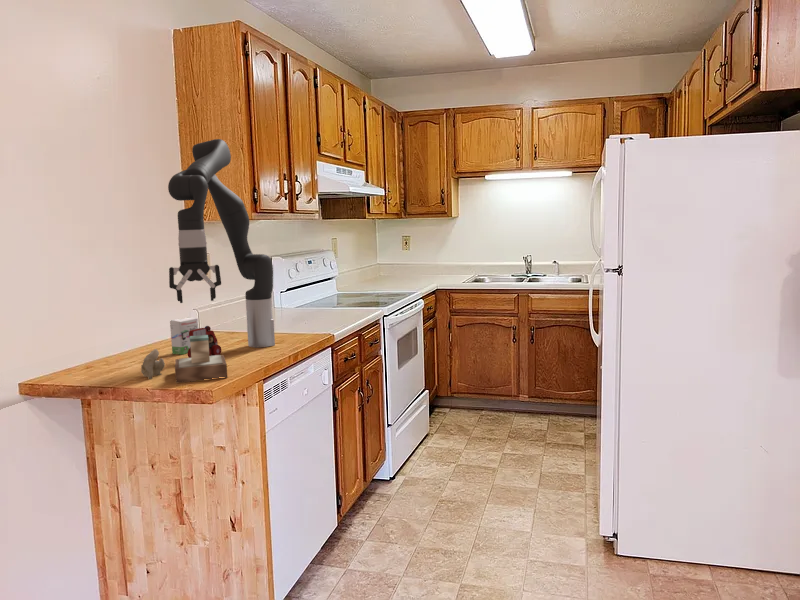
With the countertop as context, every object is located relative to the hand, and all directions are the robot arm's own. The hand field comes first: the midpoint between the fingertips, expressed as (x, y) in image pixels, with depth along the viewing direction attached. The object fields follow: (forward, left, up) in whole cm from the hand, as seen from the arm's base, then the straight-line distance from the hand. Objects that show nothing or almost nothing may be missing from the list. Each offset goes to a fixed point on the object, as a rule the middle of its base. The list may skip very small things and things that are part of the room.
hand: (196, 301), depth 180 cm
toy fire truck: (-2, -26, -22) cm, 34 cm away
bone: (+14, -5, -22) cm, 27 cm away
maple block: (0, 0, -18) cm, 18 cm away
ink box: (+4, -39, -22) cm, 45 cm away
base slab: (0, 0, -22) cm, 22 cm away
